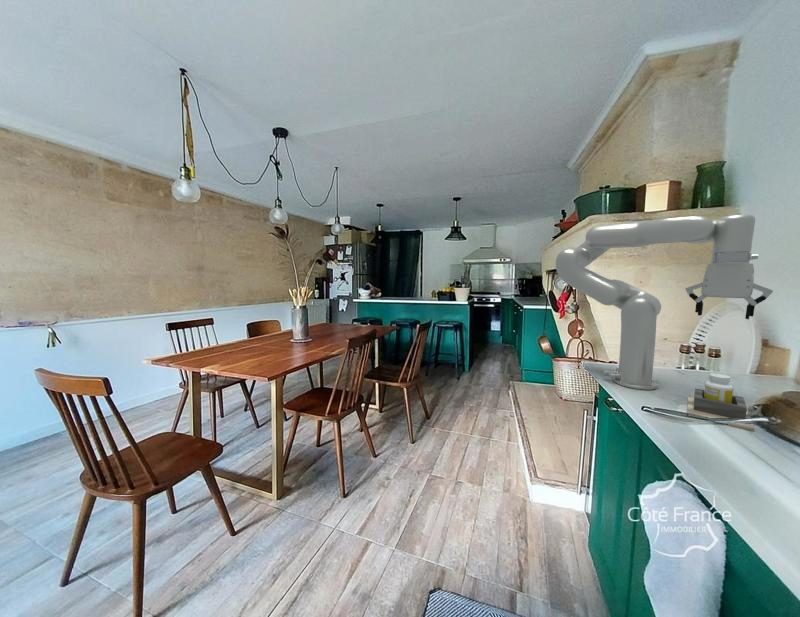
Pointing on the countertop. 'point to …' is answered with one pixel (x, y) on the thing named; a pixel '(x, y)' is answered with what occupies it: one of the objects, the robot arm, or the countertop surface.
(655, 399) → the countertop surface
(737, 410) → the holder board
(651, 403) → the countertop surface
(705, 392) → the supplement bottle
